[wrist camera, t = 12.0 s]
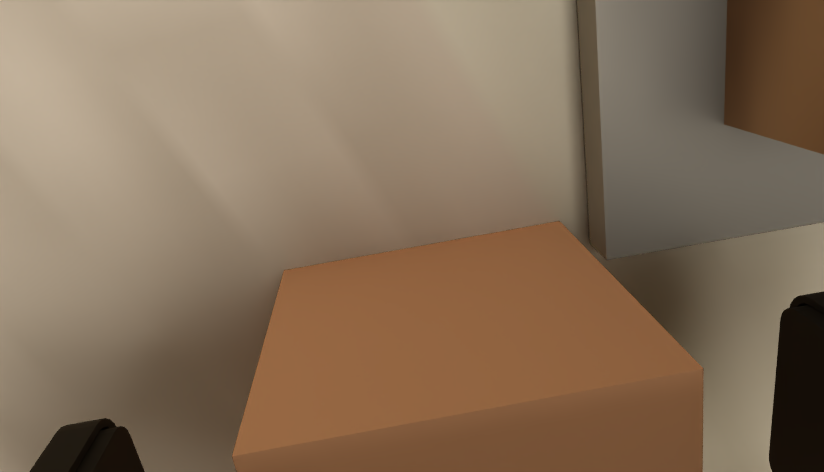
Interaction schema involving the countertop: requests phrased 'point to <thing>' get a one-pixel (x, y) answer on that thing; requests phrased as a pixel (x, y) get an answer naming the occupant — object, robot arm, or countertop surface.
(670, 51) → the build plate
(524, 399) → the terracotta brick
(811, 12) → the walnut brick
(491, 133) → the countertop surface
